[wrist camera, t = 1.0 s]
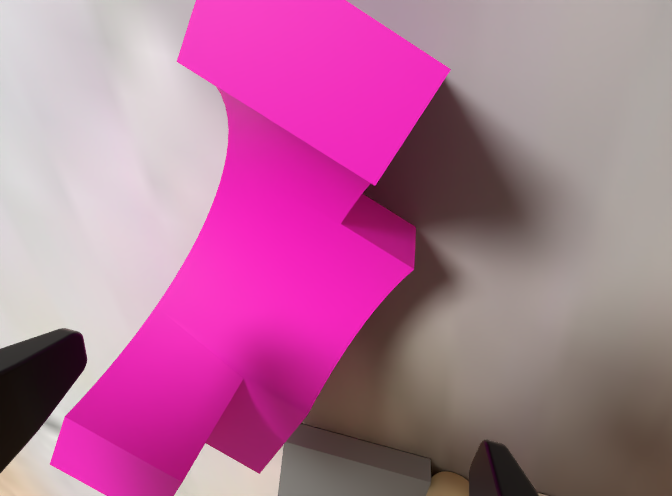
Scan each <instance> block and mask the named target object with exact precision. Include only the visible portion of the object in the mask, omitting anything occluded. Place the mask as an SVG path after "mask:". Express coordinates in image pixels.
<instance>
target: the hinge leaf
mask: <svg viewBox="0 0 672 496" xmlns="http://www.w3.org/2000/svg"><path fill="white" fill-rule="evenodd" d="M278 496H469V481H467V480H466V479H465V478H463V477H462V476H460V475H458V474H456V473H453V472H440V473H437V474H435V475H434V476H433V477H432V478H431V459H428V458H425V457H421V456H417V455H414V454H410V453H406V452H403V451H399V450H395V449H392V448H388V447H384V446H381V445H377V444H373V443H370V442H366V441H362V440H359V439H355V438H351V437H348V436H344V435H340V434H337V433H333V432H329V431H325V430H322V429H318V428H314V427H311V426H307V425H303V424H300V425H299V426H298V427H297V429H296V430H295V431H294V432H293V433H292V435H291V436H290V437H289V438H288V440H287V441H286V442H285V443H284V448H283V457H282V465H281V474H280V482H279V491H278Z"/></svg>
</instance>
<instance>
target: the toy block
mask: <svg viewBox="0 0 672 496" xmlns="http://www.w3.org/2000/svg"><path fill="white" fill-rule="evenodd" d="M177 62H178V63H180V64H181V65H183V66H185V67H186V68H188V69H189V70H191V71H193V72H194V73H196V74H197V75H199V76H201V77H202V78H204V79H205V80H207V81H209V82H210V83H212V84H213V85H215V86H216V87H217V89H218V90H219V92H220V93H221V95H222V98H223V101H224V103H225V106H226V111H227V116H228V128H229V134H228V148H227V156H226V160H225V165H224V170H223V174H222V177H221V181H220V184H219V187H218V190H217V193H216V196H215V199H214V201H213V204H212V207H211V209H210V211H209V214H208V216H207V218H206V221H205V223H204V225H203V227H202V229H201V231H200V233H199V236H198V238H197V239H196V241H195V243H194V245H193V247H192V249H191V251H190V253H189V254H188V256H187V258H186V260H185V262H184V263H183V265H182V267H181V268H180V270H179V272H178V273H177V275H176V277H175V278H174V280H173V282H172V283H171V285H170V286H169V288H168V289H167V291H166V293H165V294H164V296H163V297H162V298H161V300H160V301H159V303H158V304H157V306H156V307H155V309H154V310H153V312H152V313H151V314H150V316H149V317H148V319H147V320H146V321H145V323H144V324H143V325H142V327H141V328H140V329H139V331H138V332H137V333H136V335H135V336H134V337H133V339H132V340H131V341H130V343H129V344H128V345H127V346H126V348H125V349H124V350H123V351H122V353H121V354H120V355H119V356H118V358H117V359H116V360H115V361H114V362H113V364H112V365H111V366H110V367H109V368H108V370H107V371H106V372H105V373H104V374H103V375H102V377H101V378H100V379H99V380H98V381H97V382H96V384H95V385H94V386H93V387H92V388H91V389H90V390H89V391H88V392H87V394H86V395H85V396H84V397H83V398H82V399H81V400H80V401H79V402H78V403H77V404H76V405H75V407H74V408H73V409H72V410H71V411H70V412H69V413H68V414H67V415H66V416H65V418H64V421H63V424H62V427H61V431H60V434H59V437H58V440H57V443H56V446H55V450H54V453H53V456H52V459H51V462H50V465H52V466H54V467H56V468H57V469H59V470H61V471H63V472H65V473H66V474H68V475H70V476H72V477H74V478H76V479H77V480H79V481H81V482H83V483H85V484H86V485H88V486H90V487H92V488H94V489H95V490H97V491H99V492H101V493H103V494H105V495H106V496H174V494H175V493H176V491H177V490H178V488H179V487H180V485H181V484H182V482H183V480H184V479H185V477H186V475H187V473H188V472H189V470H190V468H191V466H192V465H193V463H194V461H195V460H196V458H197V456H198V455H199V453H200V451H201V449H202V448H203V446H204V444H205V443H206V444H208V445H210V446H212V447H213V448H215V449H217V450H219V451H220V452H222V453H224V454H226V455H227V456H229V457H231V458H233V459H234V460H236V461H238V462H240V463H241V464H243V465H245V466H247V467H249V468H250V469H252V470H254V471H256V472H257V473H259V474H260V472H261V471H262V470H263V469H264V468H265V466H266V465H267V464H268V463H269V461H270V460H271V459H272V458H273V457H274V455H275V454H276V453H277V452H278V450H279V449H280V448H281V447H282V446H283V444H284V443H285V442H286V441H287V440H288V438H289V437H290V436H291V435H292V433H293V432H294V431H295V430H296V429H297V427H298V426H299V425H300V424H301V422H302V421H303V420H304V419H305V418H306V416H307V415H308V413H309V411H310V409H311V408H312V406H313V404H314V402H315V400H316V398H317V397H318V395H319V393H320V391H321V390H322V388H323V386H324V384H325V383H326V381H327V379H328V378H329V376H330V374H331V372H332V371H333V369H334V368H335V366H336V364H337V363H338V361H339V360H340V358H341V356H342V355H343V353H344V352H345V350H346V349H347V347H348V346H349V344H350V343H351V341H352V340H353V339H354V337H355V336H356V334H357V333H358V331H359V330H360V329H361V327H362V326H363V325H364V323H365V322H366V321H367V319H368V318H369V317H370V316H371V314H372V313H373V312H374V310H375V309H376V308H377V307H378V306H379V304H380V303H381V302H382V301H383V300H384V299H385V297H386V296H387V295H388V294H389V293H390V292H391V291H392V290H393V289H394V288H395V287H396V286H397V285H398V284H399V283H400V282H401V281H402V280H403V279H404V278H405V277H406V276H407V275H408V274H409V273H410V272H412V271H413V270H414V263H415V238H416V227H415V226H413V225H412V224H410V223H409V222H407V221H405V220H404V219H402V218H401V217H399V216H397V215H396V214H394V213H393V212H391V211H389V210H388V209H386V208H385V207H383V206H381V205H380V204H378V203H377V202H375V201H373V200H372V199H370V198H369V197H367V196H365V195H364V194H362V193H363V192H364V191H365V190H366V188H367V187H368V186H369V185H370V184H373V185H374V186H375V185H376V184H377V182H378V181H379V179H380V178H381V176H382V175H383V173H384V172H385V170H386V168H387V167H388V165H389V164H390V162H391V161H392V159H393V158H394V156H395V155H396V153H397V152H398V150H399V148H400V147H401V145H402V144H403V142H404V141H405V139H406V138H407V136H408V135H409V133H410V132H411V130H412V128H413V127H414V125H415V124H416V122H417V121H418V119H419V118H420V116H421V115H422V113H423V112H424V110H425V108H426V107H427V105H428V104H429V102H430V101H431V99H432V98H433V96H434V95H435V93H436V92H437V90H438V89H439V87H440V85H441V84H442V82H443V81H444V79H445V78H446V76H447V75H448V73H449V72H450V70H451V69H449V68H448V67H446V66H445V65H443V64H442V63H440V62H439V61H437V60H436V59H434V58H433V57H431V56H430V55H428V54H427V53H425V52H423V51H422V50H420V49H419V48H417V47H416V46H414V45H413V44H411V43H410V42H408V41H407V40H405V39H404V38H402V37H401V36H399V35H398V34H396V33H394V32H393V31H391V30H390V29H388V28H387V27H385V26H384V25H382V24H381V23H379V22H378V21H376V20H375V19H373V18H372V17H370V16H369V15H367V14H365V13H364V12H362V11H361V10H359V9H358V8H356V7H355V6H353V5H352V4H350V3H349V2H347V1H346V0H196V2H195V5H194V9H193V12H192V15H191V18H190V21H189V24H188V28H187V31H186V34H185V37H184V40H183V43H182V47H181V50H180V53H179V56H178V59H177Z"/></svg>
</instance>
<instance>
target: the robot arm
mask: <svg viewBox="0 0 672 496" xmlns="http://www.w3.org/2000/svg"><path fill="white" fill-rule="evenodd" d="M86 363H87V355H86V350H85V344H84V339H83V336H82V334H81V333H80V332H78V331H74V330H70V329H66V328H62V329H58V330H55V331H52V332H49V333H46V334H43V335H40V336H37V337H34V338H31V339H28V340H25V341H22V342H19V343H16V344H13V345H10V346H7V347H5V348H2V349H0V473H1V472H2V471H3V470H4V469H5V468H6V467H7V465H8V464H9V463H10V462H11V461H12V460H13V459H14V458H15V456H16V455H17V454H18V453H19V452H20V451H21V450H22V449H23V447H24V446H25V445H26V444H27V443H28V442H29V441H30V439H31V438H32V437H33V436H34V435H35V434H36V432H37V431H38V430H39V429H40V427H41V426H42V425H43V424H44V422H45V421H46V420H47V419H48V417H49V416H50V414H51V413H52V412H53V410H54V409H55V408H56V406H57V405H58V404H59V402H60V401H61V400H62V398H63V397H64V396H65V394H66V393H67V392H68V390H69V389H70V388H71V386H72V385H73V384H74V382H75V381H76V380H77V378H78V377H79V376H80V374H81V373H82V372H83V370H84V368H85V366H86ZM469 496H539V495H538V493H537V492H536V490H535V489H534V487H533V486H532V484H531V483H530V481H529V480H528V478H527V477H526V475H525V474H524V472H523V471H522V469H521V468H520V466H519V465H518V463H517V462H516V460H515V459H514V457H513V456H512V454H511V453H510V451H509V450H508V448H507V447H506V446H505V445H503V444H501V443H498V442H494V441H490V440H483V441H482V442H481V444H480V446H479V448H478V450H477V452H476V455H475V457H474V459H473V461H472V464H471V467H470V471H469Z"/></svg>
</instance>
